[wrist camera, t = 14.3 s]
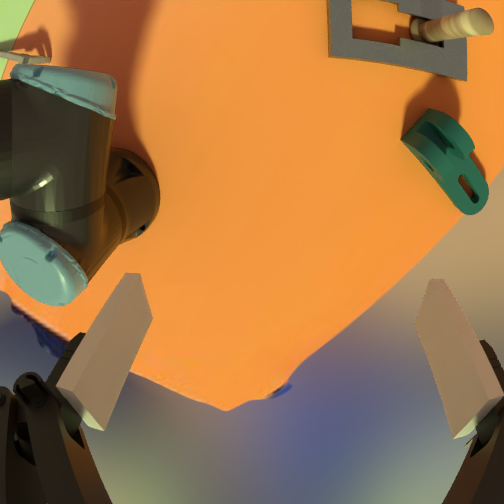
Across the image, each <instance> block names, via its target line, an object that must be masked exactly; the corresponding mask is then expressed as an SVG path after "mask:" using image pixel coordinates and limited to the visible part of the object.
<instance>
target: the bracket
mask: <svg viewBox="0 0 504 504" xmlns="http://www.w3.org/2000/svg"><path fill="white" fill-rule="evenodd" d="M401 141H402V142H403V143H404V144H405V145H406V146H407V148H408V149H409V150H410V151H411V152H412V153H413V154H414V155H415V156H416V158H417V159H418V160H419V161H420V162H421V163H422V165H423V166H424V167H425V168H426V169H427V171H428V172H429V173H430V174H431V175H432V177H433V178H434V179H435V180H436V182H437V183H438V184H439V185H440V187H441V188H442V189H443V190H444V192H445V193H446V194H447V196H448V197H449V198H450V200H451V201H452V202H453V204H454V205H455V206H456V207H457V208H458V209H459V210H460V211H461V212H463V213H464V214H466V215H473V214H476V213H478V212H479V211H480V210H481V209H482V208H483V207H484V206H485V204H486V202H487V199H488V195H489V189H488V184H487V182H486V180H485V179H484V177H483V176H482V174H481V172H480V171H479V169H478V168H477V166H476V165H475V163H474V162H473V160H472V159H471V157H470V156H469V154H470V153H471V152H472V151H473V150H474V149H475V146H474V143H473V141H472V139H471V138H470V136H469V135H468V133H467V132H466V131H465V130H464V129H463V127H462V126H461V125H460V124H459V123H458V122H456V121H455V120H454V119H453V118H452V117H450V116H449V115H447V114H445V113H443V112H440V111H436V110H432V109H428V110H427V111H426V112H425V113H424V114H423V116H422V117H421V118H420V119H419V120H418V121H417V122H416V123H415V124H414V125H413V127H412V128H411V129H410V130H409V131H408V132H407V133H406V134H405V135H404V136H403V137H402V139H401ZM461 174H462V176H463V177H464V179H465V180H466V181H467V183H468V184H469V186H470V187H471V189H472V190H473V196H472V198H469V197H468V195H467V194H466V192H465V191H464V189H463V188H462V186H461V185H460V184H459V182H458V178H459V176H460V175H461Z"/></svg>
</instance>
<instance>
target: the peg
mask: <svg viewBox="0 0 504 504" xmlns="http://www.w3.org/2000/svg"><path fill="white" fill-rule="evenodd" d="M493 31H494V24H493V20H492V18H491V17H490V15H489V14H488V13H487V12H486V11H485V10H483V9H481V8H474V9H470V10H466V11H462V12H458V13H454V14H451V15H447V16H444V17H440V18H437V19H434V20H428V19H425V18H421V17H419V18H417V19H414V20H413V21H412V22H411V23H410V26H409V32H410V35H411V38H412V39H413V40H414V41H418V42H423V43H426V44H430V45H434V46H439V45H440V43H441V41H442V40H449V39H456V38H463V37H472V36H482V35H490V34H492V33H493Z"/></svg>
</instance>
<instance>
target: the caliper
mask: <svg viewBox="0 0 504 504" xmlns="http://www.w3.org/2000/svg"><path fill="white" fill-rule="evenodd" d="M0 57H2V58H7V59H11V60H14V61H18V63H22V64H41V63H50V59H51V57H46V56H30V55H27V54H18V53H13V52H7V51H1V50H0Z"/></svg>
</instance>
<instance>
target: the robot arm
mask: <svg viewBox="0 0 504 504" xmlns="http://www.w3.org/2000/svg"><path fill="white" fill-rule="evenodd" d="M10 77H11V79H7V80H0V200H4V199H8V198H10V206H11V215H12V219H11V222H10V221H9V222H7V223H6V224H4V225H3V228H2V229H1V231H0V260H1V262H2V264H3V266H4V268H5V270H6V271H7V273H8V274H9V276H10V277H11V278H12V280H13V281H14V282H15V283H16V284H17V285H18V286H19V287H20V288H21V289H22V290H23V291H24V292H25V293H27V294H28V295H29V296H31V297H32V298H34V299H35V300H37V301H39V302H41V303H44V304H47V305H50V306H64V305H66V304H69V303H71V302H72V301H73V300H74V299H75V298H76V297H77V296H78V295H79V294H80V293H81V292H82V291H84V290H85V289H86V287H87V286H88V285H87V284H88V283H89V281H90V280H91V279H92V277H93V276H94V275H95V274H96V272H97V271H98V270H99V269H100V267H101V266H102V265H103V264H104V262H105V261H106V260H107V259H108V257H109V256H110V255H111V254H112V252H113V251H114V250H115V249H116V247H117V246H118V245H119V244H122V243H124V242H127V241H129V240H132V239H134V238H136V237H138V236H140V235H141V234H142V233H143V232H145V231H146V230H147V228H148V227H149V226H150V225H151V223H152V222H153V221H154V219H155V217H156V215H157V213H158V210H159V205H160V191H159V186H158V183H157V180H156V178H155V175H154V174H153V172H152V170H151V169H150V167H149V166H148V165H147V164H146V162H145V161H144V160H142V159H141V158H140V157H139V156H137V155H136V154H134V153H132V152H130V151H128V150H125V149H120V148H111V140H112V133H113V126H114V120H116V114H115V107H116V99H117V91H118V86H117V82H116V80H115V79H114V78H113V77H112V76H111V75H109V74H107V73H103V72H96V71H90V70H83V69H76V68H67V67H58V66H48V65H34V64H16V65H15V66H14V67H13V70H12V71H11V73H10ZM152 319H153V317H152V314H151V310H150V307H149V304H148V300H147V297H146V293H145V290H144V286H143V282H142V279H141V275H140V274H138V273H125V275H124V276H123V278H122V279H121V281H120V282H119V283H118V285H117V286H116V288H115V289H114V291H113V292H112V294H111V295H110V297H109V298H108V300H107V301H106V303H105V305H104V306H103V308H102V309H101V311H100V312H99V314H98V315H97V317H96V319H95V320H94V322H93V323H92V325H91V327H90V328H89V330H88V331H87V333H81V332H80V333H78V334H77V335H76V336H75V337H74V338H73V339H71V341H70V342H69V344H68V345H67V347H66V349H65V351H64V352H63V354H62V355H61V359H59V360H58V362H57V364H56V365H55V367H54V369H53V371H52V372H51V374H50V376H49V377H48V379H47V381H46V382H44V381H43V380H42V379H41V377H40V376H39V375H38V374H37V373H34V372H27V373H25V374H23V375H21V376H20V377H19V378H18V379H17V380H16V382H15V384H14V386H13V392H14V393H15V394H16V395H13V394H12V393H11V391H10V390H9V389H8V388H6V387H3V386H0V504H112V502H111V500H110V498H109V495H108V493H107V491H106V489H105V487H104V484H103V482H102V480H101V478H100V475H99V473H98V471H97V468H96V466H95V463H94V461H93V458H92V455H91V453H90V450H89V447H88V445H87V442H86V439H85V436H84V433H83V430H82V428H81V426H80V423H81V421H82V419H83V421H84V422H85V423H86V424H87V425H88V426H89V427H92V428H96V429H99V430H102V431H105V428H106V426H107V424H108V421H109V419H110V416H111V413H112V411H113V408H114V406H115V404H116V401H117V399H118V396H119V394H120V392H121V389H122V387H123V384H124V382H125V380H126V377H127V375H128V373H129V370H130V368H131V366H132V364H133V361H134V359H135V357H136V355H137V352H138V350H139V348H140V346H141V343H142V341H143V339H144V337H145V335H146V332H147V330H148V328H149V326H150V324H151V322H152ZM414 325H415V328H416V330H417V333H418V335H419V338H420V340H421V343H422V345H423V348H424V351H425V353H426V356H427V359H428V362H429V364H430V367H431V370H432V373H433V375H434V379H435V382H436V385H437V387H438V390H439V394H440V397H441V400H442V403H443V407H444V410H445V413H446V417H447V420H448V423H449V427H450V431H451V434H452V438H453V439H455V438H458V437H462V436H466V435H468V434H469V433H470V432H471V431H472V430H473V429H474V428H475V427H476V431H477V434H476V435H475V436H474V437H473V438H472V439H471V440H470V441H469V442H467V444H466V445H465V447H468V446H469V445H470V444H471V446H470V448H469V450H468V453H467V455H466V457H465V459H464V462H463V464H462V466H461V468H460V470H459V472H458V474H457V476H456V478H455V480H454V482H453V484H452V487H451V488H450V490H449V492H448V494H447V496H446V498H445V499H444V501H443V503H442V504H504V370H503V368H502V367H501V364H500V363H499V360H497V356H496V354H495V352H494V350H493V348H492V347H491V346H490V345H489V344H488V343H487V342H486V341H485V340H481V341H479V340H478V338H477V336H476V334H475V333H474V331H473V329H472V327H471V325H470V323H469V322H468V320H467V318H466V316H465V314H464V313H463V311H462V309H461V307H460V306H459V304H458V302H457V301H456V299H455V297H454V296H453V294H452V292H451V291H450V289H449V288H448V286H447V284H446V283H445V281H444V280H443V279H430V280H429V283H428V287H427V289H426V292H425V295H424V298H423V301H422V304H421V306H420V309H419V312H418V315H417V317H416V320H415V322H414Z"/></svg>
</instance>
